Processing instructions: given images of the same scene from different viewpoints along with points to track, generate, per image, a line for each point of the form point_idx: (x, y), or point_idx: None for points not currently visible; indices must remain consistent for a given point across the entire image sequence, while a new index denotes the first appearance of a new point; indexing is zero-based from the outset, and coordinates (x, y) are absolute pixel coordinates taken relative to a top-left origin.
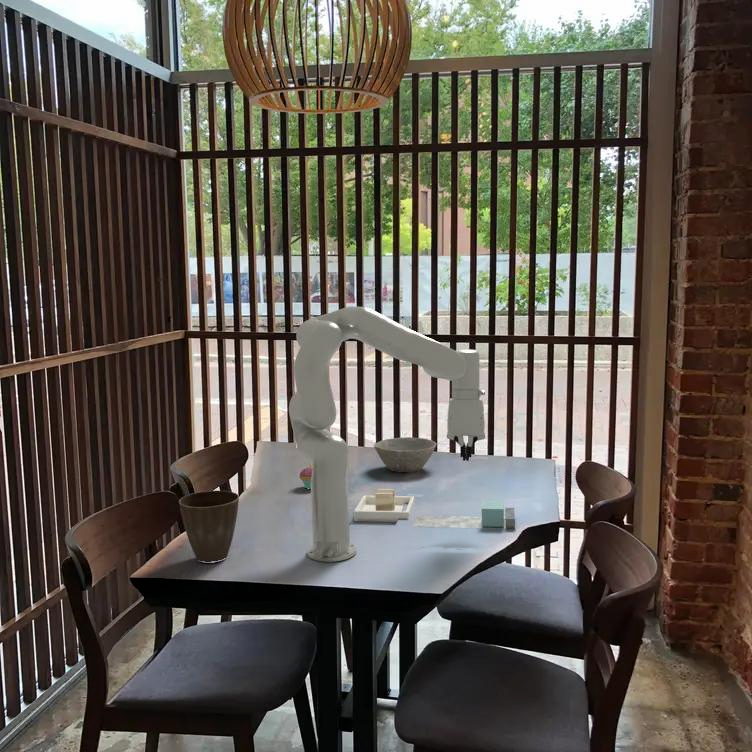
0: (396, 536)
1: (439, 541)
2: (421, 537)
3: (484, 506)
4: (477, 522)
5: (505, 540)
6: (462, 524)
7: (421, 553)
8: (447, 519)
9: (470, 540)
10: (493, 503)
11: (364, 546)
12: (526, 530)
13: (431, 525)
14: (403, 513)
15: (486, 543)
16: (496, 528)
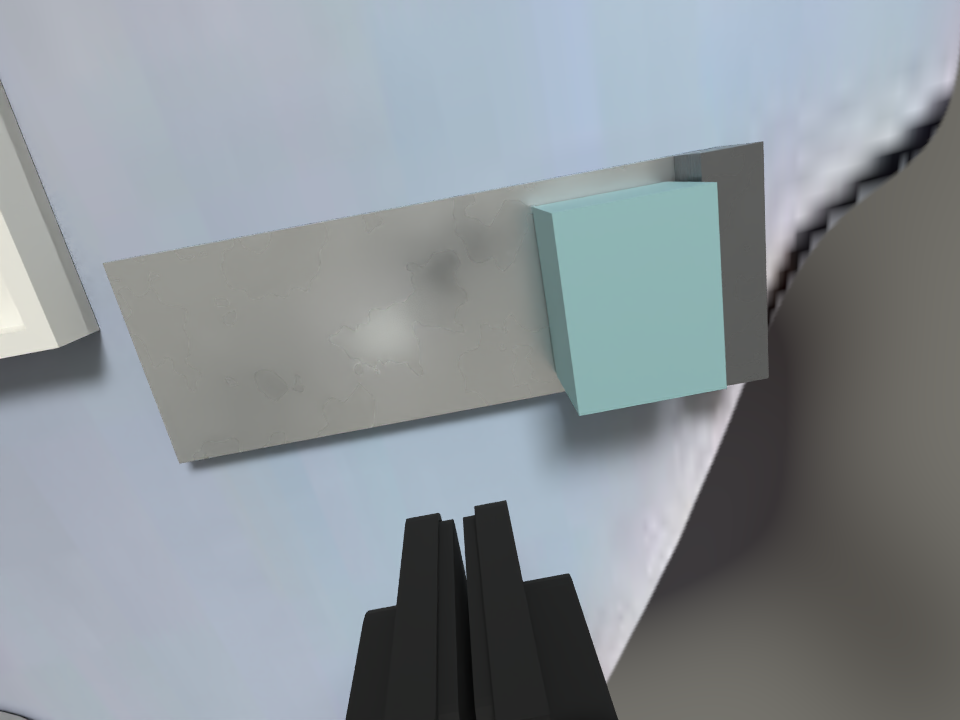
0: (146, 545)
1: (377, 551)
2: (273, 526)
3: (591, 363)
4: (517, 304)
5: (682, 460)
6: (439, 360)
7: (348, 688)
8: (325, 295)
9: (518, 502)
10: (646, 277)
11: (72, 687)
12: (786, 291)
13: (272, 422)
14: (30, 352)
15: (598, 519)
16: None
